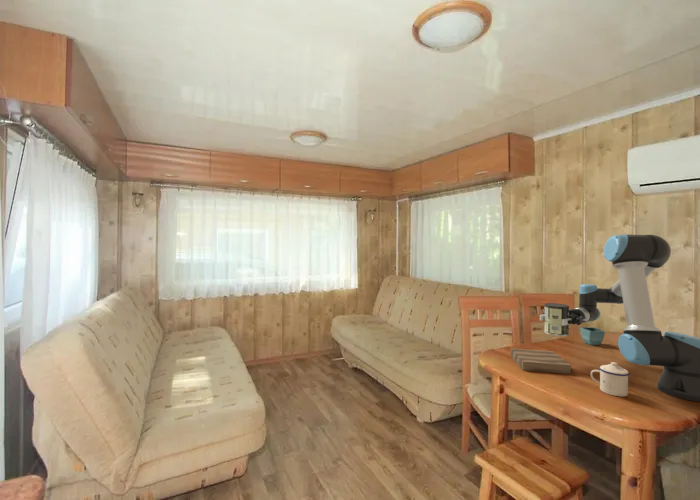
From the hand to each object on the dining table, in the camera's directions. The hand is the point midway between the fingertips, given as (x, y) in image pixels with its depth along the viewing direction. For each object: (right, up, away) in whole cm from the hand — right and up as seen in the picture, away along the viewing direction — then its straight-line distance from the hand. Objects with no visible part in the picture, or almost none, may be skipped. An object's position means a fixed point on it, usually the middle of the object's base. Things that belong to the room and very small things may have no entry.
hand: (551, 320), depth 157 cm
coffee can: (+4, -7, +2) cm, 8 cm away
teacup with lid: (+7, -23, -27) cm, 36 cm away
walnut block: (-5, -22, +2) cm, 23 cm away
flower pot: (+47, -22, +36) cm, 63 cm away
